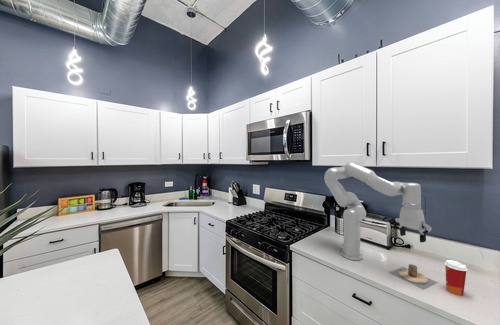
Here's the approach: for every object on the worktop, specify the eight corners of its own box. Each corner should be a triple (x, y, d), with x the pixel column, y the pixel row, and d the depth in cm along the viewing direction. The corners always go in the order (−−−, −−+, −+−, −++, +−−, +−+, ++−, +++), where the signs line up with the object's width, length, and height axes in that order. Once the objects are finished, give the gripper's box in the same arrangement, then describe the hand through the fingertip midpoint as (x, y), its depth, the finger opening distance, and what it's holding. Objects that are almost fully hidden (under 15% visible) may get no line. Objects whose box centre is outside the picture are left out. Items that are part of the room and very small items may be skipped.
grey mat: (388, 273, 111) (388, 272, 110) (403, 267, 116) (403, 266, 116) (423, 290, 96) (423, 289, 96) (438, 283, 102) (438, 282, 102)
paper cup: (453, 287, 99) (454, 259, 99) (471, 297, 91) (472, 268, 91) (438, 287, 99) (439, 259, 98) (455, 298, 91) (456, 268, 91)
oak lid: (393, 273, 109) (393, 262, 109) (406, 268, 114) (406, 258, 114) (419, 286, 98) (420, 274, 98) (432, 280, 103) (432, 269, 103)
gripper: (390, 203, 112) (391, 233, 112) (425, 210, 96) (426, 245, 96) (400, 202, 115) (400, 232, 114) (436, 209, 98) (436, 243, 98)
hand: (412, 238), depth 105 cm, fingers open, 9 cm apart
